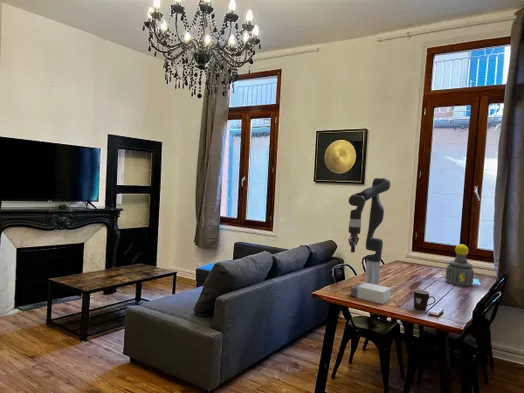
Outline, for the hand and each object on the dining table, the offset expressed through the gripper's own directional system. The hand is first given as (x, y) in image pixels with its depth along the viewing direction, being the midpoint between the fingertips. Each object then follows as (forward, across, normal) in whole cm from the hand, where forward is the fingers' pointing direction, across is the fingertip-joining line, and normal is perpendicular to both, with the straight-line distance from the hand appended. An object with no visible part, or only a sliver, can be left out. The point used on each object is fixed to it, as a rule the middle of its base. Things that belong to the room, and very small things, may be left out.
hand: (352, 252), depth 248 cm
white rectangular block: (+25, +6, +18) cm, 31 cm away
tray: (+25, +6, +15) cm, 30 cm away
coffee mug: (+25, +5, +46) cm, 53 cm away
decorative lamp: (+25, -90, +52) cm, 107 cm away
